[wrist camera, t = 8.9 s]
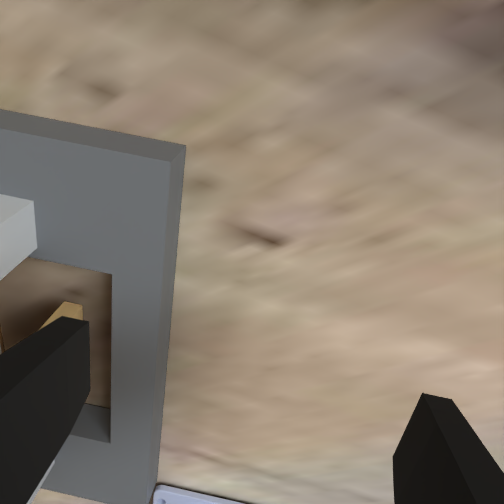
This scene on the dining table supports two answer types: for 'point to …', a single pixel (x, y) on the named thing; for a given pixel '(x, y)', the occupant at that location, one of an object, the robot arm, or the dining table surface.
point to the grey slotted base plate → (107, 261)
